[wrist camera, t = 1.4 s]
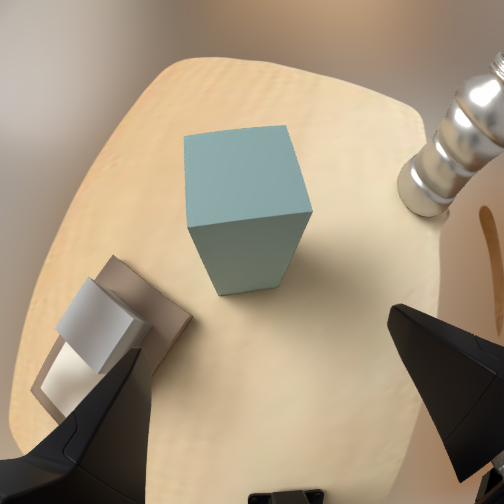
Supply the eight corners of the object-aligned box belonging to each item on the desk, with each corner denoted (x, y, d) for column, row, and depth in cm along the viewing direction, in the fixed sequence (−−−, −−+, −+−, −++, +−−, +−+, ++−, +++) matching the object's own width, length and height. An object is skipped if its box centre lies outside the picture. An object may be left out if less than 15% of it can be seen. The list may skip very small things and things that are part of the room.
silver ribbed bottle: (394, 165, 28) (474, 30, 10) (439, 191, 27) (532, 78, 9) (386, 206, 26) (494, 55, 7) (435, 234, 25) (558, 118, 7)
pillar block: (277, 286, 23) (312, 211, 11) (218, 295, 23) (187, 227, 11) (267, 232, 25) (285, 125, 13) (211, 240, 24) (184, 136, 12)
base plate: (192, 316, 22) (178, 306, 17) (98, 454, 17) (69, 470, 12) (118, 259, 24) (92, 236, 19) (37, 390, 18) (4, 391, 14)
